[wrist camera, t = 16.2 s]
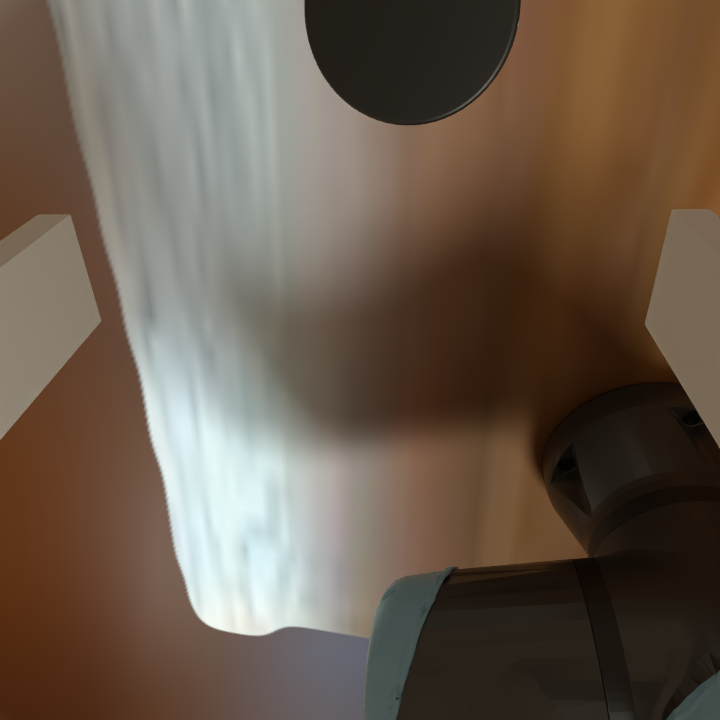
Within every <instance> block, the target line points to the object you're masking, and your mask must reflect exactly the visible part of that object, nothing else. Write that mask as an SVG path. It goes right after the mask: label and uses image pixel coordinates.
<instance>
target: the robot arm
mask: <svg viewBox="0 0 720 720" xmlns="http://www.w3.org/2000/svg"><path fill="white" fill-rule="evenodd" d="M100 322H101V318H100V314H99V311H98V308H97V304H96V301H95V297H94V294H93V291H92V287H91V284H90V280H89V277H88V273H87V270H86V267H85V263H84V260H83V256H82V253H81V249H80V246H79V243H78V239H77V236H76V232H75V229H74V225H73V222H72V219H71V215H70V214H63V215H62V214H58V215H57V214H55V215H53V214H51V215H37V216H35V217H34V218H32V219H31V220H30V221H28V222H27V223H25V224H24V225H22V226H21V227H20V228H18V229H17V230H15V231H14V232H12V233H11V234H9V235H8V236H7V237H5V238H4V239H2V240H1V241H0V439H1V438H2V437H3V436H4V435H5V433H6V432H7V431H8V430H9V429H10V428H11V426H12V425H13V424H14V423H15V422H16V421H17V419H18V418H19V417H20V416H21V414H22V413H23V412H24V411H25V410H26V409H27V408H28V406H29V405H30V404H31V403H32V402H33V400H34V399H35V398H36V397H37V396H38V395H39V394H40V392H41V391H42V390H43V389H44V388H45V386H46V385H47V384H48V383H49V382H50V381H51V379H52V378H53V377H54V376H55V375H56V374H57V372H58V371H59V370H60V369H61V368H62V367H63V365H64V364H65V363H66V362H67V361H68V359H69V358H70V357H71V356H72V355H73V354H74V352H75V351H76V350H77V349H78V348H79V347H80V345H81V344H82V343H83V342H84V341H85V339H86V338H87V337H88V336H89V335H90V334H91V332H92V331H93V330H94V329H95V328H96V327H97V325H98V324H99V323H100ZM645 326H646V327H647V329H648V331H649V332H650V334H651V336H652V337H653V339H654V341H655V342H656V344H657V346H658V347H659V349H660V350H661V352H662V354H663V355H664V357H665V359H666V360H667V362H668V364H669V365H670V367H671V369H672V370H673V372H674V374H675V375H676V377H677V378H678V380H679V382H680V383H681V385H677V384H667V383H652V384H641V385H635V386H629V387H625V388H621V389H618V390H614V391H611V392H609V393H606V394H603V395H601V396H599V397H597V398H595V399H593V400H591V401H589V402H587V403H585V404H584V405H582V406H581V407H579V408H578V409H576V410H575V411H574V412H572V413H571V414H570V415H569V416H568V417H567V418H565V419H564V420H563V421H562V422H561V424H560V425H559V426H558V427H557V428H556V430H555V431H554V432H553V434H552V435H551V437H550V439H549V441H548V443H547V445H546V448H545V451H544V455H543V461H542V470H543V476H544V480H545V484H546V489H547V493H548V496H549V499H550V501H551V503H552V505H553V507H554V509H555V511H556V512H557V513H558V515H559V516H560V517H561V519H562V520H563V521H564V523H565V524H566V526H567V527H568V528H569V530H570V531H571V532H572V534H573V535H574V536H575V538H576V539H577V540H578V542H579V543H580V545H581V546H582V547H583V549H584V550H585V551H586V553H587V554H588V557H589V558H581V559H567V560H556V561H545V562H534V563H523V564H512V565H500V566H489V567H478V568H467V569H458V567H448V568H446V569H445V570H443V571H438V572H431V573H424V574H418V575H411V576H406V577H403V578H400V579H399V580H397V581H395V582H394V583H393V584H392V585H391V586H390V587H389V588H388V589H387V591H386V592H385V593H384V595H383V597H382V599H381V602H380V604H379V606H378V609H377V611H376V615H375V618H374V622H373V626H372V630H371V636H370V642H369V648H368V656H367V664H366V676H365V695H364V716H365V720H720V218H719V217H718V216H717V215H716V214H715V213H714V212H713V211H712V210H710V209H679V210H672V211H671V216H670V220H669V224H668V228H667V233H666V237H665V241H664V245H663V249H662V254H661V258H660V262H659V266H658V270H657V275H656V279H655V283H654V287H653V291H652V296H651V300H650V304H649V308H648V313H647V317H646V321H645Z"/></svg>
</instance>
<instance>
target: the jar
mask: <svg viewBox="0 0 720 720" xmlns="http://www.w3.org/2000/svg"><path fill="white" fill-rule="evenodd" d="M520 3H521V0H305V23H306V30H307V36H308V40H309V44H310V47H311V50H312V53H313V56H314V58H315V61H316V63H317V65H318V67H319V69H320V71H321V73H322V74H323V76H324V78H325V79H326V80H327V82H328V83H329V85H330V86H331V87H332V88H333V90H334V91H335V92H336V93H337V94H338V95H339V96H340V97H341V98H342V99H343V100H344V101H345V102H346V103H348V104H349V105H350V106H351V107H353V108H354V109H356V110H357V111H359V112H361V113H363V114H364V115H366V116H368V117H371V118H373V119H376V120H378V121H382V122H385V123H390V124H395V125H421V124H427V123H431V122H435V121H438V120H441V119H444V118H447V117H449V116H451V115H453V114H455V113H457V112H459V111H460V110H462V109H464V108H465V107H466V106H468V105H469V104H471V103H472V102H473V101H474V100H475V99H477V98H478V97H479V96H480V95H481V94H482V93H483V92H484V91H485V90H486V89H487V88H488V86H489V85H490V84H491V83H492V82H493V80H494V79H495V78H496V76H497V75H498V73H499V72H500V70H501V68H502V67H503V65H504V63H505V61H506V59H507V57H508V55H509V53H510V50H511V48H512V45H513V42H514V39H515V35H516V31H517V27H518V25H519V15H520Z"/></svg>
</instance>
